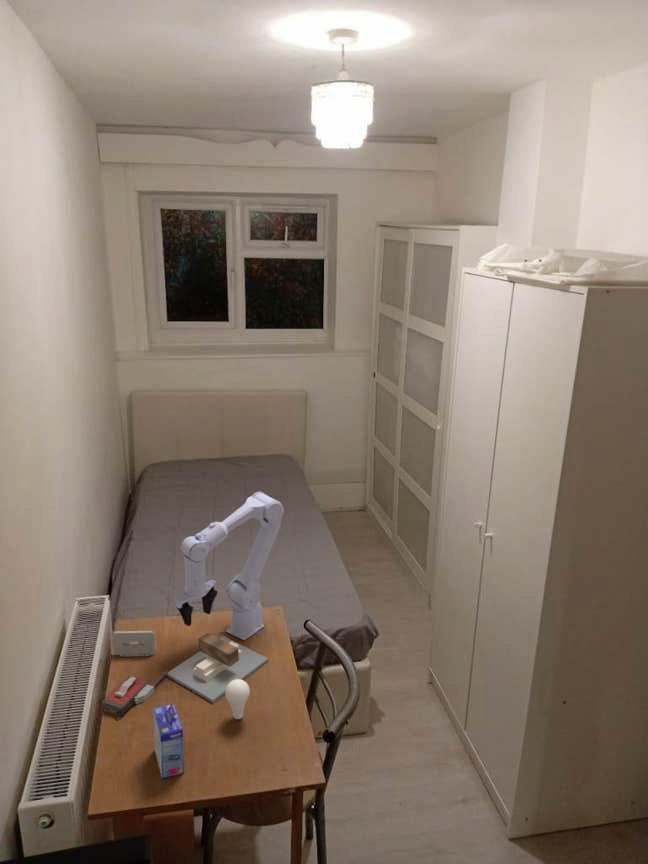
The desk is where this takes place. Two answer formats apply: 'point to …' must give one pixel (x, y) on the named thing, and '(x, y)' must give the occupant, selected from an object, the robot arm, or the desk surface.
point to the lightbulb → (237, 696)
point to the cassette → (134, 649)
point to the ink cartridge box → (168, 740)
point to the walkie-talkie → (129, 694)
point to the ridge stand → (215, 671)
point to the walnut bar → (218, 649)
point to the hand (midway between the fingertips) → (197, 618)
